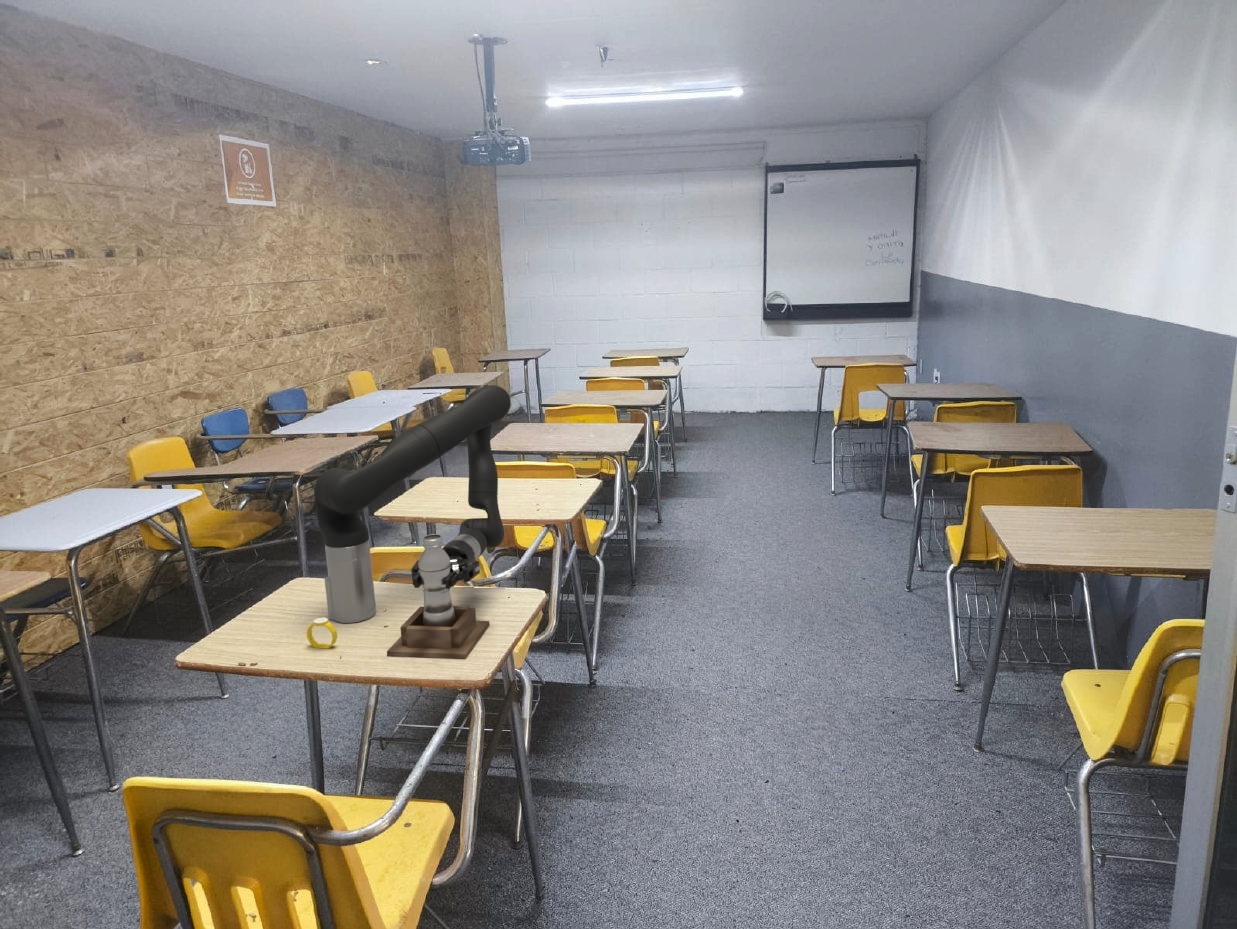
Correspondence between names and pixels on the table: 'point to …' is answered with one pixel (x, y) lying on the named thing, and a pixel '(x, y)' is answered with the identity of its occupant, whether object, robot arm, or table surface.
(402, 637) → the bottle rack
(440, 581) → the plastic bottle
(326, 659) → the table surface
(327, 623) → the watch
